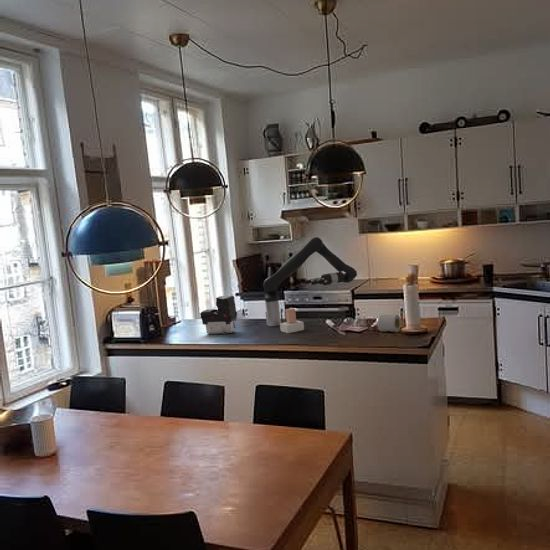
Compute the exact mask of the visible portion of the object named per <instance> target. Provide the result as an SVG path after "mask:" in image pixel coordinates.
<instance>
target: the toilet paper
mask: <svg viewBox="0 0 550 550" xmlns="http://www.w3.org/2000/svg"><path fill="white" fill-rule="evenodd" d="M377 326H378V330H379V331H380V332H387V331H390V332H391V333H393V332H394V333H398V332H399V331H400V330H401V326H402V320H401V316H400V315H398V314H380V315H379V317H378V320H377ZM390 332H389V333H390Z"/></svg>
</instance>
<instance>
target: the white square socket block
mask: <svg viewBox="0 0 550 550" xmlns="http://www.w3.org/2000/svg"><path fill="white" fill-rule="evenodd" d="M279 328H280V332H283V333H286V334H290V333H297V332H299V331H300V332H301V331H304V330H305V324H304V321H302V320H297V319H296V322H294V323H289V324H287V321H285V322H281V323H280V325H279Z"/></svg>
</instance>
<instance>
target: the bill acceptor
mask: <svg viewBox="0 0 550 550" xmlns="http://www.w3.org/2000/svg"><path fill="white" fill-rule="evenodd" d="M215 301H216V302H215V305H216V306H215V307H217V309H215V308H209V309H208V308H207V309H205V310H203V311H201V312H200V314H199V316H200V319H201V323H202V325H203V326H204V325H205V330H206V334H207V335H208V334H209V335H213V334H224V335H225V334H226V335H227V334H230V333H232V334H233V333H234V332H236V330H235V329H236V324H235V322H236V321H237V319H238V312H237V306H236V302H235V296H234V295H232V294H231V295H221V296H218V297H215Z"/></svg>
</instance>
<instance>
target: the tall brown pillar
mask: <svg viewBox="0 0 550 550" xmlns="http://www.w3.org/2000/svg"><path fill="white" fill-rule="evenodd" d="M285 319H286V322H287V324H289V323H294V322H296V320H297V315H296V308H293V307H291V308H290V307H289V308H286V309H285Z"/></svg>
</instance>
